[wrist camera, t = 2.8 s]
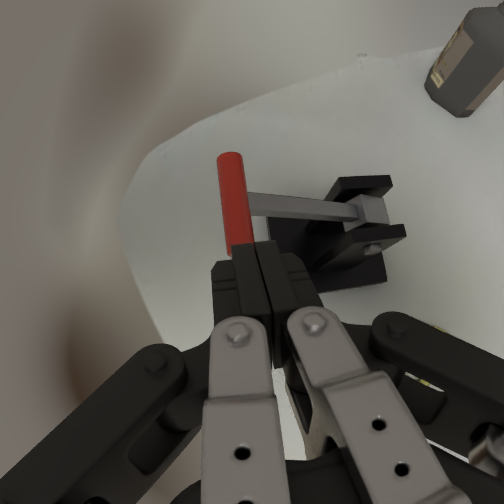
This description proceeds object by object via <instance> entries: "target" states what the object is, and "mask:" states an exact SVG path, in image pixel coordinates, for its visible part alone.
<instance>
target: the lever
mask: <svg viewBox="0 0 504 504" xmlns="http://www.w3.org/2000/svg"><path fill="white" fill-rule="evenodd" d="M217 168H218V177H219V187H220V196H221V205H222V213H223V222H224V231H225V239H226V248H227V255H228V256H230V257H232V255H231V245H235V244H244V243H252V244H253V243H254V235H253V228H252V221H251V216H267V217H283V218H298V219H312V220H326V221H338V222H343V225H344V229H345V232H346V233H348V232H349V231H350V230H351V229H359V228H368V227H378V226H387V225H390V222H389V218H388V214H387V210H386V207H385V203H384V199H383V198H379V197H374V196H369V195H363V194H360V195H358V196H356V197H354V198H353V199H351V200H349V201H347V202H345V203H340V202H333V201H325V200H317V199H308V198H300V197H291V196H282V195H273V194H263V193H253V192H247V186H246V179H245V172H244V165H243V158H242V155H241V154H240V153H237V152H226V153H223V154H221V155H219V156H218V158H217Z"/></svg>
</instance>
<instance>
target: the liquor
mask: <svg viewBox="0 0 504 504" xmlns="http://www.w3.org/2000/svg"><path fill="white" fill-rule="evenodd" d="M503 80H504V1H503V3H501V4H499V6H498V7H481V8H473V9H472V10H470V11H469V12H468V13H467V15H466V16H465V18H464V20H463V21H462V23H461V24H460V26H459V27H458V29H457V30H456V32H455V33H454V35H453V36H452V38H451V39H450V41H449V42H448V44H447V45H446V47H445V48H444V50H443V51H442V53H441V54H440V56H439V57H438V59H437V60H436V62H435V63H434V65H433V66H432V67H431V69H430V71H429V74H428V77H427V80H426V83H425V89H426V90H427V92H428V94H429V95H430V97H431V99H432V100H433V101H435V102H436V103H437V104H439V105H440V106H442V107H443V108H444V109H446V110H447V111H448V112H450V113H451V114H452V115H454V116H455V117H468V116H470V115H471V114H472V113H473V112H474V111H475V110H476V109H477V108H478V107H479V106H480V105H481V103H482V102H483V101H484V100H485V99H486V98H487V97H488V96H489V95H490V94H491V93H492V92H493V91H494V90H495V89H496V88H497V86H498V85H499V84H500V83H501V82H502V81H503Z"/></svg>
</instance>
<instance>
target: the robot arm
mask: <svg viewBox="0 0 504 504" xmlns="http://www.w3.org/2000/svg"><path fill="white" fill-rule="evenodd" d="M231 255H232V260H224V261H217V262H216V264H215V265H214V267H213V268H212V270H211V280H212V297H213V313H214V329H213V330H212V333H211V335H210V337H209V338H208V339H207V340H206V341H205V342H203V343H202V344H200V345H199V346H196V347H194V348H192V349H189V350H186V351H183V352H180V351H179V350H178V349H177V348H176V347H174V346H172V345H168V344H153V345H149V346H146V347H144V348H143V349H141V350H139V351H138V352H137V353H136V354H135V355H134V356H132V357H131V358H130V359H129V360H128V361H127V362H126V363H125V364H124V365H123V366H122V367H121V368H119V369H118V370H117V371H116V372H115V373H114V374H113V375H112V376H111V377H110V378H109V379H107V380H106V381H105V382H104V383H103V384H102V385H101V386H100V387H99V388H98V389H97V390H96V391H95V392H93V393H92V394H91V395H90V396H89V397H88V398H87V399H86V400H85V401H84V402H83V403H82V404H81V405H79V406H78V407H77V408H76V409H75V410H74V411H73V412H72V413H71V414H70V415H69V416H68V417H67V418H66V419H64V420H63V421H62V422H61V423H60V424H59V425H58V426H57V427H56V428H55V429H54V430H53V431H51V432H50V433H49V434H48V435H47V436H46V437H45V438H44V439H43V440H42V441H41V442H40V443H38V444H37V445H36V446H35V447H34V448H33V449H32V450H31V451H30V452H29V453H28V454H27V455H26V456H25V457H23V458H22V459H21V460H20V461H19V462H18V463H17V464H16V465H15V466H14V467H13V468H12V469H11V470H10V471H8V472H7V473H6V474H5V475H4V476H3V477H2V478H1V479H0V504H136V503H137V502H138V501H139V500H140V499H141V497H142V496H143V495H144V494H145V493H146V492H147V491H148V490H149V489H150V488H151V486H152V485H153V484H154V483H155V482H156V481H157V480H158V479H159V478H160V476H161V475H162V474H163V473H164V472H165V470H167V468H168V467H169V466H170V465H171V464H172V463H173V461H174V460H175V459H176V458H177V457H178V456H179V455H180V453H181V452H182V451H183V450H184V449H185V448H186V446H187V445H188V444H189V443H190V442H191V440H192V439H193V438H194V437H195V436H196V434H197V433H198V432H199V431H200V429H201V427H202V455H201V456H202V457H201V480H199V481H197V482H196V483H194V484H192V485H190V486H189V487H187V488H186V489H185V490H183V491H182V492H181V493H180V494H179V495H178V496H177V497H175V499H174V500H173V501H172V502H171V503H170V504H504V359H502V358H500V357H497V356H495V355H493V354H491V353H489V352H487V351H484V350H482V349H480V348H478V347H476V346H474V345H472V344H469V343H467V342H465V341H463V340H461V339H459V338H456V337H454V336H452V335H450V334H448V333H446V332H443V331H441V330H439V329H437V328H435V327H433V326H430V325H428V324H426V323H424V322H422V321H420V320H417V319H415V318H413V317H411V316H409V315H406V314H404V313H400V312H385V313H382V314H380V315H378V316H377V317H376V318H375V319H374V320H373V323H372V326H370V325H353V324H347V323H343V322H341V321H340V319H339V318H338V317H337V315H336V314H335V313H333V312H332V311H330V310H328V309H326V308H324V306H323V303H322V301H321V299H320V297H319V295H318V293H317V291H316V289H315V286H314V284H313V282H312V280H310V276H309V274H308V272H307V270H306V268H305V265H304V263H303V261H302V260H301V259H300V258H298V257H297V256H296V255H294V254H293V253H284V254H281V253H280V251H279V248H278V246H277V243H276V241H275V240H270V241H261V242H254V243H253V244H252V243H244V244H235V245H231ZM272 361H273V366H274V369H277V368H283V369H284V373H285V389H286V392H287V395H288V398H289V401H290V404H291V406H292V409H293V412H294V415H295V418H296V420H297V423H298V426H299V429H300V431H301V434H302V437H303V441H304V445H305V454H306V459H307V460H306V461H304V460H285V456H284V448H283V441H282V433H281V425H280V418H279V410H278V403H277V398H276V395H275V394H274V388H273V380H272V373H271V369H272ZM406 372H408V373H410V374H412V375H414V376H416V377H418V378H420V379H422V380H424V381H426V382H428V383H430V384H432V385H434V386H436V387H438V388H440V389H442V390H444V392H440V391H437V390H435V389H432V388H430V387H428V386H426V385H424V384H422V383H420V382H418V381H416V380H415V379H413V378H411V377H409V376H407V375H405V373H406ZM426 438H427V439H429V440H431V441H433V442H435V443H437V444H439V445H441V446H443V447H445V448H447V449H449V450H451V451H453V452H455V453H458V454H460V455H462V456H464V457H466V458H468V460H469V463H467V462H465V461H463V460H461V459H459V458H457V457H455V456H453V455H451V454H449V453H447V452H446V451H444V450H442V449H440V448H438V447H436V446H434V445H432V444H429V443H428V441H427V440H426Z"/></svg>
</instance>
